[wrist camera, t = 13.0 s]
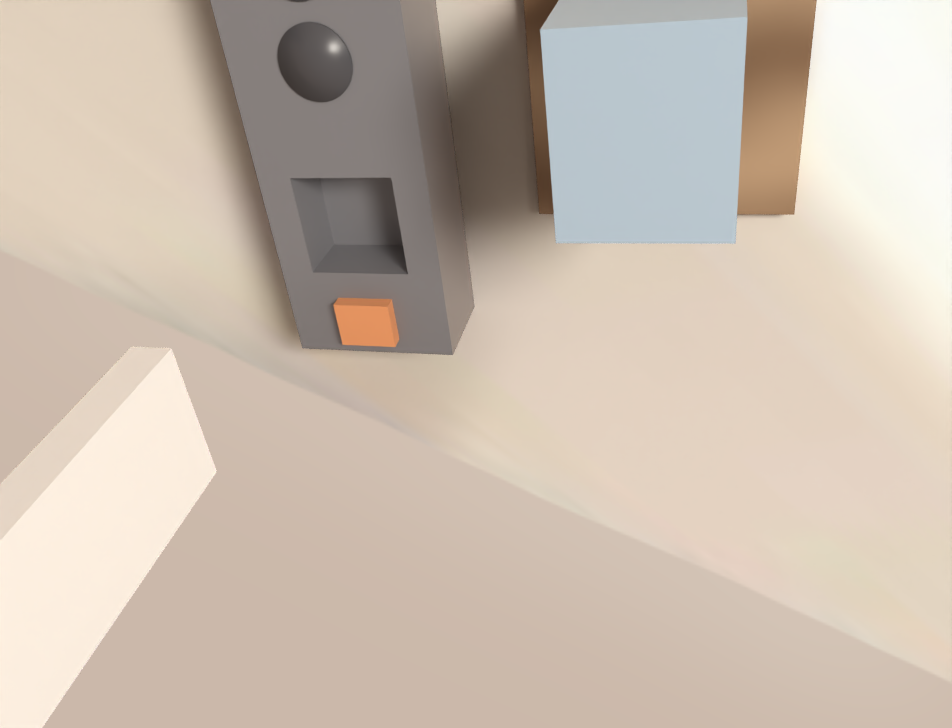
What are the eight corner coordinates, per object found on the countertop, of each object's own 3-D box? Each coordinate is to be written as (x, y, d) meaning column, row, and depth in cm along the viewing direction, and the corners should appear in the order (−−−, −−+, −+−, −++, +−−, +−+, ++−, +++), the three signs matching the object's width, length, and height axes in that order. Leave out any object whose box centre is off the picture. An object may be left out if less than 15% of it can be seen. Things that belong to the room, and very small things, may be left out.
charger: (592, -53, 30) (539, 29, 22) (743, -66, 29) (747, 16, 21) (599, 119, 34) (556, 245, 26) (735, 114, 32) (735, 245, 24)
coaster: (513, -182, 29) (510, -180, 29) (837, -218, 27) (838, -217, 26) (541, 207, 37) (539, 213, 37) (793, 207, 35) (794, 214, 34)
